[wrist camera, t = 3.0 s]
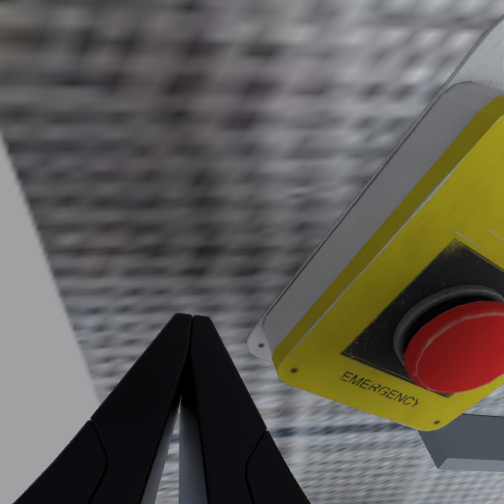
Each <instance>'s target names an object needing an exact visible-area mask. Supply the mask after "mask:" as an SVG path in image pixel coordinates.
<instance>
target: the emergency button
mask: <svg viewBox="0 0 504 504" xmlns="http://www.w3.org/2000/svg"><path fill="white" fill-rule="evenodd" d="M247 346H248V350H249V352H250V353H251V354H253V355H254V356H255V357H258V358H260V359H263V360H266V361H268V362H271V363H274V366H275V368H276V371H277V374H278V376H279V379H280V380H281V381H283V382H285V383H286V384H288V385H290V386H293V387H296V388H299V389H302V390H305V391H307V392H310V393H313V394H316V395H319V396H322V397H325V398H327V399H330V400H333V401H336V402H339V403H342V404H345V405H348V406H350V407H353V408H356V409H359V410H362V411H365V412H368V413H370V414H373V415H376V416H379V417H382V418H385V419H388V420H390V421H393V422H396V423H399V424H402V425H405V426H408V427H410V428H413V429H416V430H420V431H432V430H438V429H440V428H442V427H444V426H446V425H447V424H448V423H450V422H451V421H453V420H454V419H455V418H457V417H458V416H459V415H461V414H462V413H464V412H465V411H466V410H468V409H469V408H470V407H472V406H473V405H475V404H476V403H477V402H479V401H480V400H482V399H483V398H484V397H486V396H487V395H488V394H490V393H491V392H493V391H494V390H495V389H497V388H498V387H499V386H501V385H502V384H504V16H502V17H501V18H500V19H499V20H498V21H497V22H496V23H495V24H494V25H493V26H492V27H491V28H489V29H488V30H487V31H486V32H485V33H484V34H483V35H482V37H481V38H480V39H479V40H478V42H477V43H476V44H475V46H474V47H473V48H472V49H471V51H470V52H469V53H468V54H467V56H466V57H465V58H464V60H463V61H462V62H461V63H460V65H459V66H458V67H457V69H456V70H455V71H454V72H453V74H452V75H451V76H450V77H449V79H448V80H447V81H446V83H445V84H444V85H443V86H442V88H441V89H440V90H439V92H438V93H437V94H436V95H435V97H434V98H433V99H432V100H431V102H430V103H429V104H428V106H427V107H426V108H425V109H424V111H423V112H422V113H421V115H420V116H419V117H418V118H417V120H416V121H415V122H414V123H413V125H412V126H411V127H410V129H409V130H408V131H407V132H406V134H405V135H404V136H403V137H402V139H401V140H400V141H399V143H398V144H397V145H396V146H395V148H394V149H393V150H392V152H391V153H390V154H389V155H388V157H387V158H386V159H385V160H384V162H383V163H382V164H381V166H380V167H379V168H378V169H377V171H376V172H375V173H374V175H373V176H372V177H371V178H370V180H369V181H368V182H367V183H366V185H365V186H364V187H363V189H362V190H361V191H360V192H359V194H358V195H357V196H356V198H355V199H354V200H353V201H352V203H351V204H350V205H349V206H348V208H347V209H346V210H345V212H344V213H343V214H342V215H341V217H340V218H339V219H338V220H337V222H336V223H335V224H334V226H333V227H332V228H331V229H330V231H329V232H328V233H327V235H326V236H325V237H324V238H323V240H322V241H321V242H320V243H319V245H318V246H317V247H316V249H315V250H314V251H313V252H312V254H311V255H310V256H309V258H308V259H307V260H306V261H305V263H304V264H303V265H302V266H301V268H300V269H299V270H298V272H297V273H296V274H295V275H294V277H293V278H292V279H291V281H290V282H289V283H288V284H287V286H286V287H285V288H284V289H283V291H282V292H281V293H280V295H279V296H278V297H277V298H276V300H275V301H274V302H273V304H272V305H271V306H270V307H269V309H268V310H267V311H266V312H265V314H264V315H263V316H262V318H261V319H260V320H259V321H258V323H257V324H256V325H255V326H254V328H253V329H252V330H251V332H250V334H249V336H248V339H247Z"/></svg>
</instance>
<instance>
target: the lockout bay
mask: <svg viewBox="0 0 504 504" xmlns="http://www.w3.org/2000/svg"><path fill="white" fill-rule="evenodd" d="M418 432H419V434H420V436H421V438H422V440H423V442H424V443H425V445H426V447H427V449H428V451H429V453H430V455H431V457H432V459H433V461H434V463H435V465H436V467H437V469H448V470H473V471H497V472H504V417H491V416H478V415H464V414H461V415H459V416H458V417H457V418H455V419H454V420H453V421H451V422H450V423H448V424H447V425H446V426H444V427H442V428H440V429H438V430H432V431H420V430H418Z"/></svg>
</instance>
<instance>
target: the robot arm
mask: <svg viewBox="0 0 504 504" xmlns="http://www.w3.org/2000/svg"><path fill="white" fill-rule="evenodd" d="M180 399H181V401H180ZM179 404H180V433H179V504H311V503H310V502H309V500H308V499H307V497H306V496H305V494H304V492H303V491H302V489H301V488H300V486H299V484H298V483H297V481H296V480H295V478H294V476H293V475H292V473H291V472H290V470H289V468H288V466H287V464H286V463H285V461H284V459H283V457H282V455H281V454H280V452H279V450H278V448H277V446H276V444H275V442H274V440H273V438H272V436H271V434H270V433H269V431H266V430H267V427H266V425H265V423H264V421H263V419H262V417H261V415H260V413H259V412H258V410H257V408H256V406H255V404H254V402H253V400H252V398H251V396H250V394H249V392H248V390H247V388H246V386H245V384H244V382H243V380H242V379H241V377H240V375H239V373H238V371H237V369H236V367H235V365H234V363H233V361H232V359H231V357H230V355H229V353H228V351H227V349H226V347H225V346H224V344H223V342H222V340H221V338H220V336H219V334H218V332H217V330H216V328H215V326H214V324H213V322H212V320H211V319H210V317H208V316H200V315H194V316H193V318H192V315H191V314H183V313H176V314H175V315H174V316H173V317H172V318H171V319H170V321H169V322H168V323H167V324H166V326H165V327H164V328H163V329H162V330H161V332H160V333H159V334H158V335H157V337H156V338H155V339H154V340H153V341H152V343H151V344H150V345H149V346H148V348H147V349H146V350H145V351H144V352H143V354H142V355H141V356H140V357H139V359H138V360H137V361H136V362H135V364H134V365H133V366H132V367H131V368H130V370H129V371H128V372H127V373H126V375H125V376H124V377H123V378H122V379H121V381H120V382H119V383H118V384H117V386H116V387H115V388H114V389H113V390H112V392H111V393H110V394H109V395H108V397H107V398H106V399H105V400H104V402H103V403H102V404H101V405H100V406H99V408H98V409H97V410H96V411H95V413H94V414H93V415H92V416H91V418H90V420H88V421H87V422H86V423H85V425H84V426H83V427H82V428H81V430H80V431H79V432H78V433H77V434H76V436H75V437H74V438H73V439H72V440H71V441H70V443H69V444H68V445H67V446H66V447H65V449H64V450H63V451H62V452H61V453H60V454H59V456H58V457H57V458H56V459H55V460H54V461H53V462H52V463H51V464H50V465H49V467H48V468H47V469H46V470H45V471H44V472H43V473H42V474H41V475H40V476H39V477H38V478H37V479H36V480H35V481H34V482H33V483H32V484H31V486H29V488H28V489H27V490H26V491H25V492H24V493H23V494H22V495H21V496H20V497H19V498H18V499H17V500H16V501H15V502H14V503H13V504H154V503H155V499H156V495H157V491H158V488H159V484H160V480H161V476H162V472H163V468H164V464H165V460H166V456H167V453H168V449H169V445H170V441H171V437H172V433H173V429H174V425H175V421H176V418H177V413H178V409H179Z"/></svg>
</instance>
